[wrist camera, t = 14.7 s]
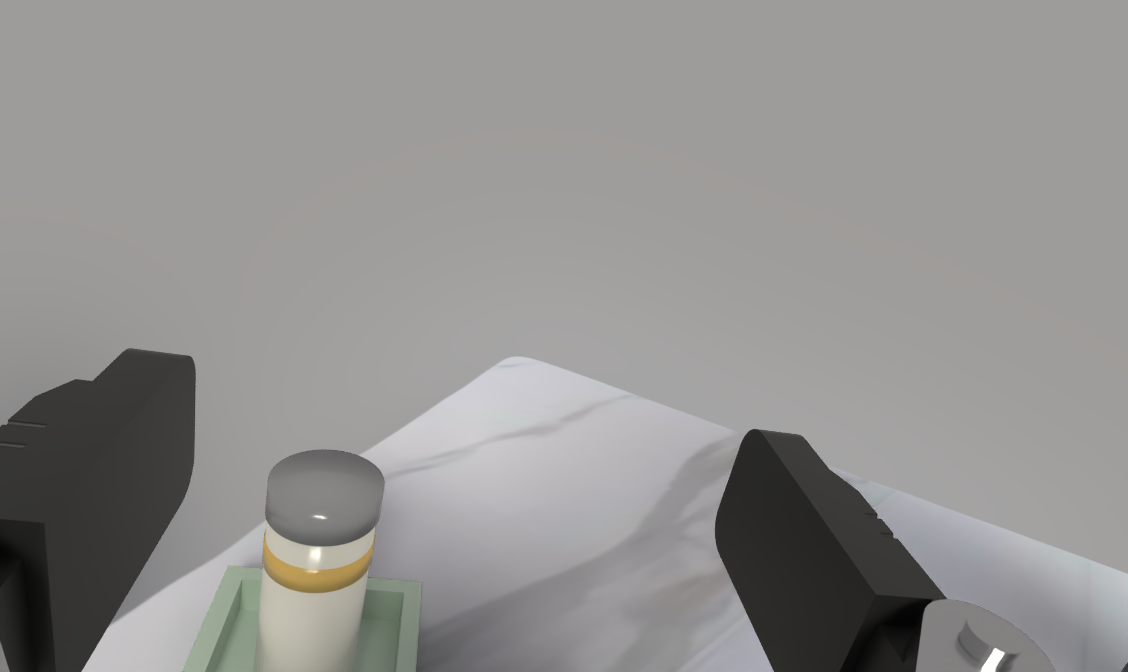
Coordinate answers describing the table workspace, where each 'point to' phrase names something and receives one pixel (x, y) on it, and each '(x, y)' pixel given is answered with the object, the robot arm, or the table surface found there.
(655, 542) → the table surface
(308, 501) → the cylinder
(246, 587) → the tray
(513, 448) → the table surface
